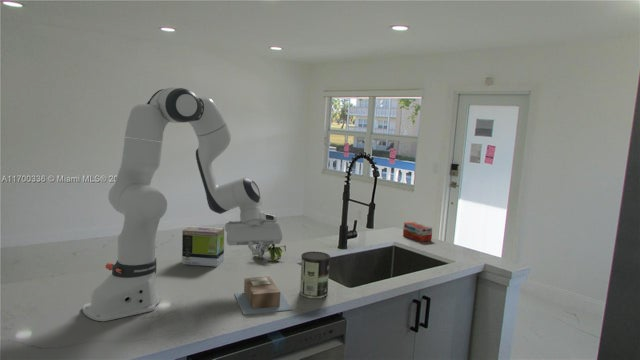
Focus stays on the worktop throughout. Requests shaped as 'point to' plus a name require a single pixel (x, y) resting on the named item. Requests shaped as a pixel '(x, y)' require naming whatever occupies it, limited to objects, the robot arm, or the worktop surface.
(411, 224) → the medicine box
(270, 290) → the cardboard box
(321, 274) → the coffee can
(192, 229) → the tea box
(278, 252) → the passion flower
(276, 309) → the mat
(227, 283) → the worktop surface
